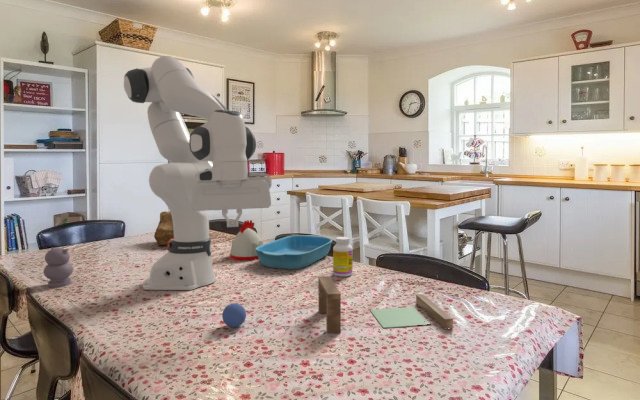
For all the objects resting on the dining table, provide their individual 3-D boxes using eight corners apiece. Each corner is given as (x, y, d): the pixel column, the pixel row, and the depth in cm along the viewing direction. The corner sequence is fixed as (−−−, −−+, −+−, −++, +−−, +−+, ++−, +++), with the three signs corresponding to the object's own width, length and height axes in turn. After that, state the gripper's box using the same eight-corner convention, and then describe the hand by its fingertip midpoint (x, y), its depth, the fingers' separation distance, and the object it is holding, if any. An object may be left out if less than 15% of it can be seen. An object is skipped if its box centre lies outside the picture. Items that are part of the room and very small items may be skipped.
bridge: (327, 333, 98) (327, 294, 97) (318, 311, 113) (318, 276, 112) (340, 332, 99) (340, 293, 98) (329, 310, 113) (329, 276, 112)
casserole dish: (298, 275, 147) (298, 255, 147) (245, 268, 157) (244, 249, 156) (340, 253, 180) (340, 237, 180) (294, 248, 190) (293, 233, 189)
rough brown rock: (142, 246, 200) (139, 215, 197) (171, 237, 213) (169, 208, 211) (174, 254, 187) (171, 221, 184) (203, 244, 201) (201, 213, 198)
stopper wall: (444, 329, 100) (445, 319, 100) (416, 303, 118) (416, 294, 118) (452, 328, 100) (453, 318, 100) (422, 303, 118) (423, 294, 118)
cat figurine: (38, 286, 135) (35, 249, 134) (60, 279, 143) (58, 244, 141) (57, 289, 132) (55, 251, 131) (79, 282, 140) (77, 246, 138)
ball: (221, 331, 99) (221, 308, 99) (223, 322, 105) (222, 300, 104) (246, 330, 100) (245, 307, 100) (246, 321, 106) (246, 299, 105)
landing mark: (383, 328, 101) (383, 327, 101) (369, 310, 113) (369, 309, 113) (431, 324, 103) (431, 324, 103) (413, 307, 115) (413, 306, 115)
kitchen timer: (271, 255, 177) (270, 219, 175) (248, 262, 165) (248, 224, 164) (246, 251, 184) (245, 217, 183) (223, 258, 173) (222, 221, 171)
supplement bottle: (351, 277, 143) (351, 240, 142) (331, 276, 145) (331, 239, 143) (353, 272, 150) (353, 236, 148) (334, 271, 151) (334, 235, 150)
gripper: (270, 172, 114) (272, 223, 115) (191, 174, 111) (194, 227, 112) (271, 172, 108) (273, 226, 109) (188, 174, 104) (191, 230, 106)
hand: (232, 226), depth 110 cm, fingers closed
